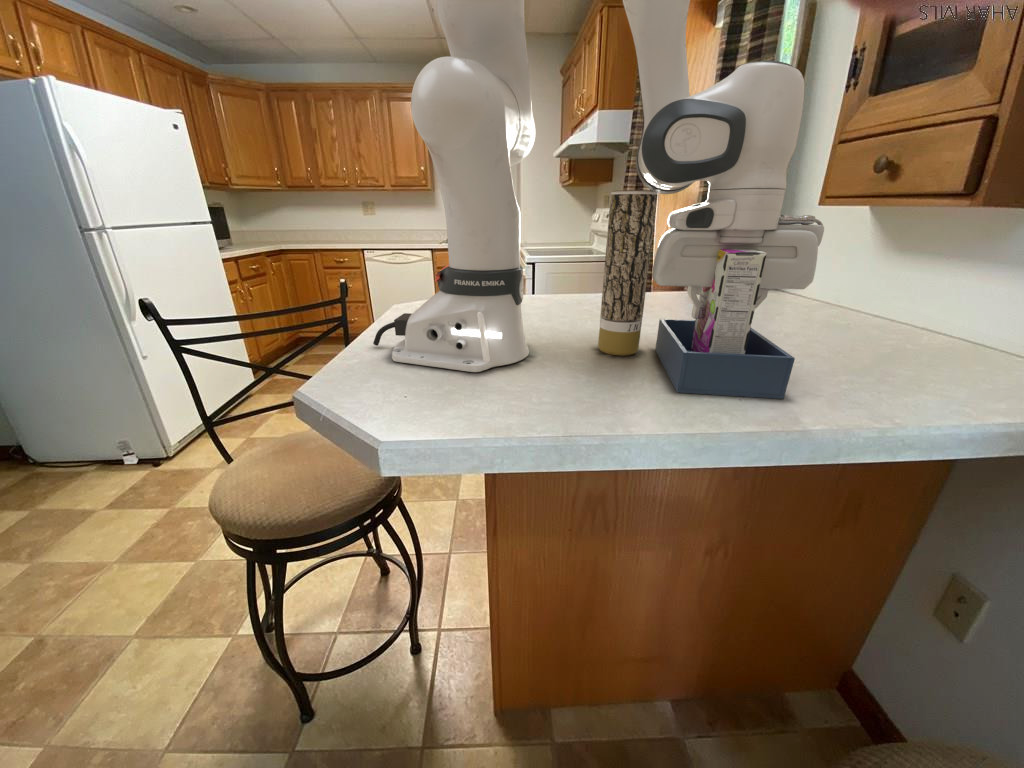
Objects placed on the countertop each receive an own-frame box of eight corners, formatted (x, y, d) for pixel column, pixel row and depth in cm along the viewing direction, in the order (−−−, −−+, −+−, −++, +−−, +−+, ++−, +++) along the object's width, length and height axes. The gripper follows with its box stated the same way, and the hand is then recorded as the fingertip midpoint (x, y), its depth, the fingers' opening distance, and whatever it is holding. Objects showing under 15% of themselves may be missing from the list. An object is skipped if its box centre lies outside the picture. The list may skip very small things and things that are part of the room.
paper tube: (593, 354, 71) (607, 190, 61) (601, 343, 77) (615, 192, 67) (635, 359, 69) (656, 189, 59) (640, 347, 74) (659, 191, 65)
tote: (677, 392, 56) (683, 352, 54) (655, 350, 73) (659, 318, 71) (783, 399, 54) (795, 358, 52) (736, 354, 71) (743, 321, 69)
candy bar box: (688, 349, 69) (706, 243, 62) (720, 351, 68) (742, 244, 61) (702, 374, 58) (726, 250, 52) (741, 377, 57) (770, 251, 51)
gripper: (815, 214, 57) (788, 316, 62) (657, 214, 59) (645, 311, 65) (841, 215, 51) (810, 327, 56) (665, 214, 54) (651, 321, 59)
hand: (720, 318), depth 60 cm, fingers closed on candy bar box, 5 cm apart
